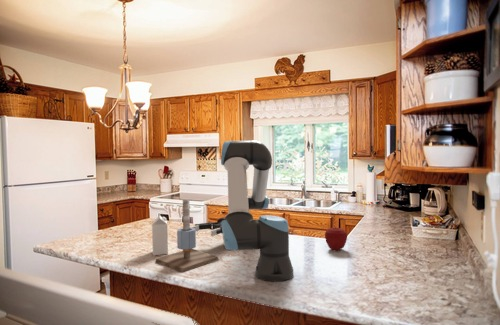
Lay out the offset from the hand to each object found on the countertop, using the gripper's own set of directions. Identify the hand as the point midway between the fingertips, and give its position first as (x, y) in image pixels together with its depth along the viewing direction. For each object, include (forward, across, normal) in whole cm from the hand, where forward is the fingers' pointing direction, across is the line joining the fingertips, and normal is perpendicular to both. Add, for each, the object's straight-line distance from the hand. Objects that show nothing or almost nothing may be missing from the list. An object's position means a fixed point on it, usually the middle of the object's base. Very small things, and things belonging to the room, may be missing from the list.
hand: (200, 231), depth 155 cm
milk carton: (+7, +20, -11) cm, 24 cm away
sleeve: (+10, 0, -5) cm, 11 cm away
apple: (-40, -54, -11) cm, 68 cm away
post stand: (+10, 0, -11) cm, 15 cm away
